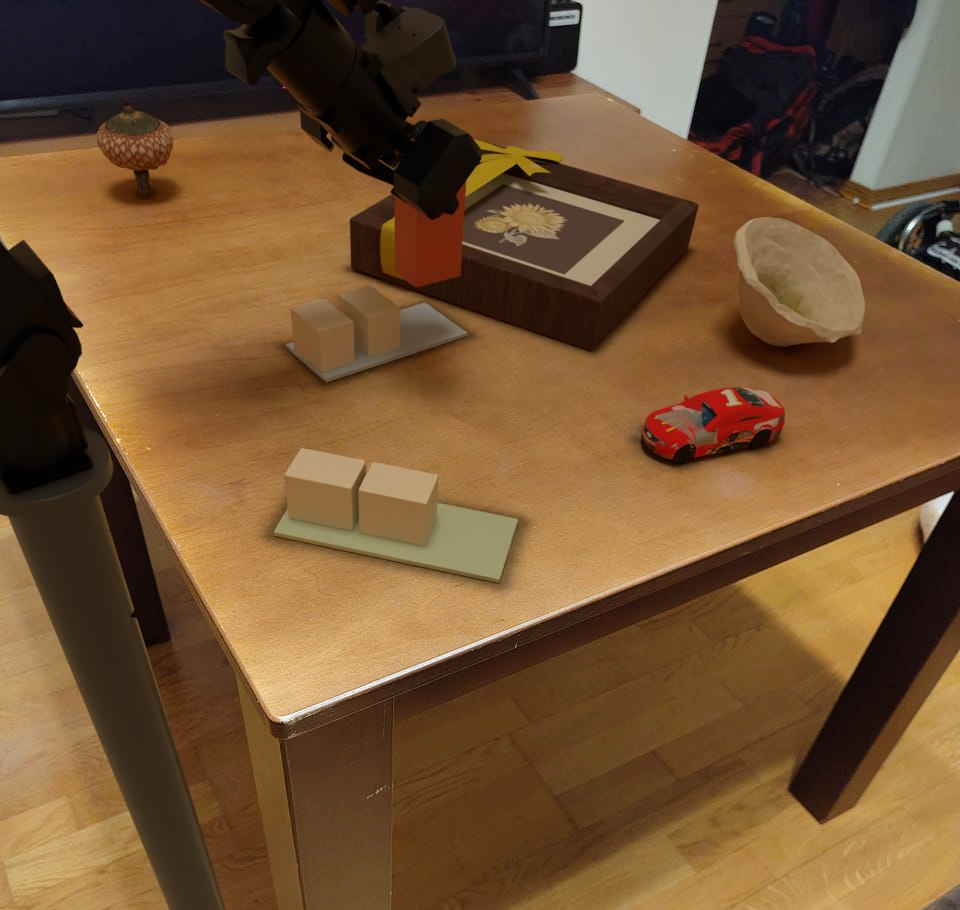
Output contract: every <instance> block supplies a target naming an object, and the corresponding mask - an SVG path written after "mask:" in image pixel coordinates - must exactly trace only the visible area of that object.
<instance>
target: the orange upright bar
mask: <svg viewBox="0 0 960 910" xmlns="http://www.w3.org/2000/svg"><path fill="white" fill-rule="evenodd" d="M404 137H405V136H404ZM407 139H408V138H407ZM410 139H412V140H414V139H413V137H412V138H410ZM410 139H409V140H410ZM414 141H415V140H414ZM395 154H396V153H395ZM396 155H397V156H399V155H398V154H396ZM465 195H466V182H465V183H464V184H463V186H462V187H461V189H460V190H459V191H458V193H457V194H456V196H457V199H458V202H459V207H458V209H457V210H456V211H455V213H454V214H453V215H449V214H446V213H443V214H442V215H441V217H439V218H436V219H434V220H430V219H429V218H427V217H426V216H424V215H423V214H421V213H420V212H418V211H417V210H415V209H414V208H412V207H411V206H410V205H408V204H406V203H405V202H403V201H402V200H400V199H399V198H397V197H396V196H395V269H394V271H395V273H397V274H398V275H399V276H401V277H402V278H403V279H405V280H406V281H407V282H409V283H410V284H411V285H413V286H414V287H420V286H424V285H427V284H431V283H435V282H439V281H443V280H446V279H450V278H454V277H458V276H460V275H461V259H462V243H463V227H464V211H465Z"/></svg>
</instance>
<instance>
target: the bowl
mask: <svg viewBox="0 0 960 910" xmlns="http://www.w3.org/2000/svg"><path fill="white" fill-rule="evenodd" d="M734 235H735V236H734V238H733V247H734V251H735V254H736V259H737V269H738V270H739V275H738V276H739V277H738V285H737V288H738V309H739V315H740V318H741V319H742V321H743V322H744V323H745V324H744V325H745V326H746V328H747V329H748V330H749V332H750V333H751V334H752V335H753V336H755V337H756V338H758V339H759V340H761V341H762V342H763V343H765V344H768V345H771V346H776V347H783V348H784V347H785V348H787V347H791V346H796V345H800V344H810V343H825V342H827V343H829V344H832V343H836V342H837V341H838V340H840V339H841V338H845V337H851V336H855V337H857V336H859V335H860V334H861V333H862V328H863V323H864V321H865V314H866V302H865V297H864V293H863V288H862V284H861V281H860V278H859V275H858V273H857V272H856V271H855V269H854V268H853V266H852V265H851V264H850V263H849V262H848V261H847V260H846V258H844V257H843V256H842V255H841V253H840V252H839V250H838V249H837V248H836V247H835V246H834V245H832V243H830V242H829V241H828V240H827V239H826V238H824V237H822V236H820V235H819V234H815V233H814V232H812V231H811V230H808V229H806V228H805V227H803V226H802V225H799V224H797V223H794V222H793V221H790V220H787V219H784V218H779V217H774V216H760V217H756V218H752V219H750V220H747V222H744V225H742V226H741V227H740V228H739V229H738V230H737V231H735V234H734Z"/></svg>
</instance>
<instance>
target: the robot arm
mask: <svg viewBox="0 0 960 910" xmlns="http://www.w3.org/2000/svg"><path fill="white" fill-rule="evenodd" d="M198 2H200V3H202V4H204V5H206V6H207V7H209V8H210V9H212V10H213V11H216V12H217V13H219V14H220V15H222V16H224V17H225V18H227V19H229V20H231V21H233V22H234V23H237V24H242V25H240V27H238V28H236V29H226V30H224V32H223V34H222V36H223V38H224V41H225V69H226V70H227V72H229V73H230V74H232V75H233V76H234V77H236V78H238V79H239V80H240V81H242V82H244V83H245V84H247V85H248V86H250V87H254V86H256V85H257V84H258V82H259V81H260V80H261V78H262V76H263V75H264V73H265V72H266V70H267V71H268V72H269V73H270V74H271V75H272V76H273V77H274V78H275V79H276V80H277V81H278V82H279V83H280V84H281V85H282V86H283V87H284V88H285V89H286V90H287V91H288V93H290V94H291V95H292V97H294V99H296V101H297V102H296V103H295V105H296V107H298V108H299V110H300V111H299V116H300V117H299V118H300V129H301V130H302V131H303V132H304V133H305V134H306V135H307V136H308V137H309V138H311V139H312V141H313V142H314V143H316V144H317V145H319V146H320V147H321V148H323V149H324V150H326V151H327V152H329V153H332V152H333V150H334V148H335V146H336V147H337V148H338V150H340V151H341V152H343V153H342V156H341V159H342V161H343V162H344V163H345V164H347V165H348V166H350V168H352V169H354V170H355V171H356V172H359V173H360V174H364V175H366V176H369V177H371V178H373V179H376V180H379V181H381V182H384V183H386V184H388V185H391V186H393V187H392V188H391V190H390V191H389V192H390V195H391V194H393V195H394V196H396V197H397V198H399V199H400V200H402V201H403V202H405V203H406V204H408V205H410V206H411V207H412V208H414V209H415V210H417V211H418V212H420V213H421V214H423V215H424V216H426V217H427V218H429V219H430V220H434V219H436V218H439V217H441V215H442V214H443V213H446V214H449V215H453V214H454V213H455V211H456V210H457V209H458V207H459V202H458V199H457V196H456V194H457V193H458V191H459V190H460V189H461V187H462V186H463V184H464V183H465V182H466V180H467V179H468V177H469V176H470V175H471V173H472V172H473V170H474V169H475V168H476V166H477V165H478V163H479V162H480V161H481V159H482V149H481V148H480V147H479V146H478V144H477V143H476V142H475V140H476V139H474V138H473V136H472V135H471V134H470V133H469V132H468V131H467V130H464V129H462V128H460V127H459V126H457V125H456V124H453V123H451V122H450V121H448V120H446V119H444V118H439V119H433V120H432V119H431V120H428V121H426V120H423V119H422V120H419V121H417V122H416V123H414V124H413V123H411V122H409V121H408V120H407V119H408V118H414V116H415V114H416V113H417V111H418V110H419V109H420V107H421V105H422V103H421V101H420V100H419V99H418V98H417V97H416V94H418V93H420V92H421V91H423V90H424V89H426V88H427V87H428V86H429V85H431V84H432V83H433V82H435V81H436V80H437V79H439V78H440V77H441V76H443V75H444V74H446V75H448V74H450V73H451V72H452V71H453V70H454V69H455V67H456V66H457V60H456V57H455V53H454V49H453V47H452V43H451V39H450V36H449V33H448V28H447V25H446V22H445V19H444V18H442V17H441V16H438V15H436V14H434V13H432V12H429V11H427V10H425V9H424V8H421V7H416V6H415V7H409V6H406V5H403V6H402V7H400V12H399V10H397V8H395V6H394V5H393V4H391V3H389V2H388V1H386V0H326V2H328V4H330V5H331V6H332V7H333V8H334V9H335V10H336V11H338V12H339V13H340V14H342V15H344V16H346V17H351V15H352V14H353V12H354V10H355V9H357V10H358V11H359V12H360V13H361V14H363V15H364V39H365V42H366V43H365V44H364V45H362V46H361V47H360V46H359V44H358V43H357V42H356V41H355V40H354V39H353V38H352V36H351V35H350V34H349V32H348V31H347V30H346V29H345V27H344V26H343V25H342V24H341V23H340V22H339V21H338V19H337V18H336V17H335V16H334V14H333V13H332V12H331V11H330V10H329V8H328V7H327V6H326V5H325V4H324V2H323V1H322V0H198ZM328 134H329V135H330V139H329V137H328ZM404 136H405V137H404ZM412 137H413V139H414V140H415V141H414V140H412V139H410V138H412ZM407 138H408V139H407ZM409 139H410V140H409ZM395 153H396V154H398V155H399V156H397V155H396V154H395ZM83 327H84V324H83V322H82V320H80V319H79V317H78V316H77V315H76V314H75V312H74V311H73V310H72V309H71V308H70V306H69V305H68V304H67V303H66V301H65V300H64V297H63V294H62V292H61V289H60V286H59V284H58V282H57V279H56V277H55V275H54V273H53V272H52V271H51V270H50V268H49V267H48V266H47V265H46V264H45V262H44V261H43V260H42V259H41V257H39V255H38V254H37V253H36V252H35V251H34V249H33V248H31V246H30V245H29V243H28V242H27V241H26V240H24V239H22V240H20V241H19V242H18V243H16V244H15V245H13V246H12V247H11V248H9V249H8V248H7V247H6V245H4V244H3V243H2V240H0V481H1V483H2V484H3V486H4V487H5V489H6V490H7V492H8V493H9V494H18V493H21V492H23V491H26V490H29V489H32V488H35V487H38V486H41V485H44V484H47V483H50V482H53V481H56V480H59V479H62V478H65V477H68V476H71V475H74V474H77V473H80V472H83V471H86V470H89V469H91V468H92V467H93V464H92V460H91V459H90V458H89V456H88V455H87V454H86V453H85V451H84V450H85V449H87V448H88V446H89V445H88V442H87V439H86V435H85V432H84V429H83V427H84V425H83V422H82V419H81V415H80V412H79V408H78V405H77V404H76V402H75V401H74V400H73V399H72V397H71V396H70V395H69V394H68V389H69V388H68V387H69V379H70V375H72V373H73V372H74V371H75V369H76V368H77V366H78V363H79V360H80V357H81V356H82V355H83V348H82V343H81V340H80V337H79V335H78V333H77V332H76V330H75V329H82V328H83Z"/></svg>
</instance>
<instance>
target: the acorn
mask: <svg viewBox="0 0 960 910" xmlns="http://www.w3.org/2000/svg"><path fill="white" fill-rule="evenodd" d="M123 103H124V107H123V110H122V112H120V113H117V114H115V115H114V116H112V117H111V118H110V119H108V120H107V121H104V122H103V123H102V124H101V125H100V127H99V129H98V131H97V132H96V143H97V147H98V148H99V150H100V152H102V154H103V155H104V157H106V159H108V161H109V162H110V163H111V164H113V165H115V166H116V167H118V168H120V169H127V170H131V171H133V174H134V177H135V180H136V185H137V190H138V192H139V194H141V195H146V194H148V192H149V191H150V190H152V186H151V183H150V178H151V177H150V172H149V170H152V171H155V170H157V169H158V168H159V167H162V166H165V165H166V164H167V163H168V161H169V160H170V157H171V154H172V151H173V148H174V136H173V133H172V130H171V128H170V126H169V125H168V124H167V123H166V122H164V121H163V120H160V119H158V118H157V117H153V116H152V115H150V114H149V113H147V112H144V111H139V110H135V109H134V108H133V107H132V106H131V105H130V101H129V99H128V97H124V99H123Z"/></svg>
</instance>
